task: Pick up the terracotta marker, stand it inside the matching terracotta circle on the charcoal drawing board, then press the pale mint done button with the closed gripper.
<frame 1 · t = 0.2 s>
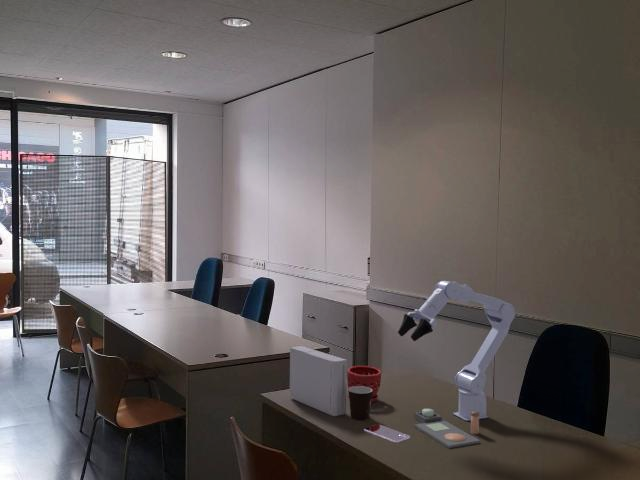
hand: (406, 336, 208), 31 cm above the table, tool tilted 45°, fingers open, 7 cm apart
mobile phone: (386, 435, 204), on the table
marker: (474, 432, 206), on the table
game console: (316, 406, 231), on the table
done button: (427, 413, 217), point 2 cm above the table, slide at 0.0 cm
plant pot: (363, 400, 239), on the table
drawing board: (446, 434, 204), on the table
coffee mug: (361, 416, 220), on the table
button housing: (427, 420, 217), on the table
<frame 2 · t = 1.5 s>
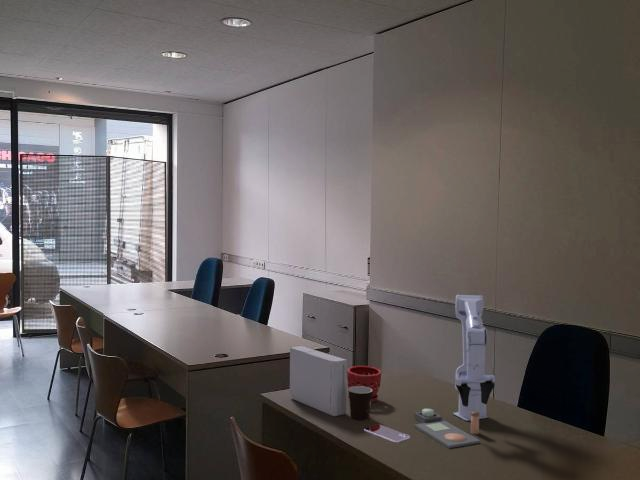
hand: (474, 404, 205), 10 cm above the table, tool pointing down, fingers open, 7 cm apart
nothing on the table moved.
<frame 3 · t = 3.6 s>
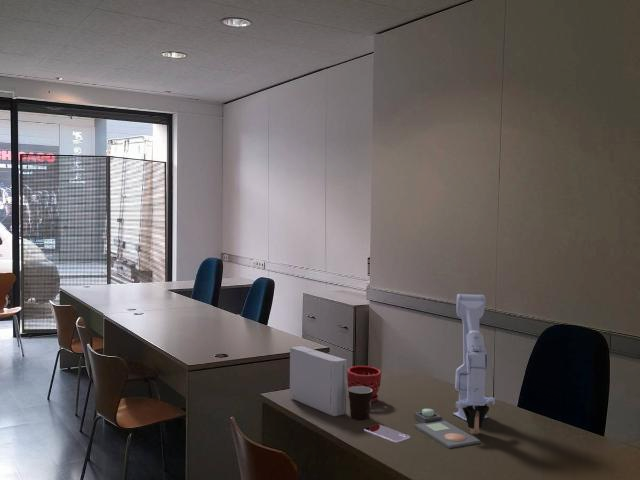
hand: (474, 427, 206), 2 cm above the table, tool pointing down, fingers closed on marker, 3 cm apart
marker: (474, 432, 206), on the table, touching gripper
everything else where it was.
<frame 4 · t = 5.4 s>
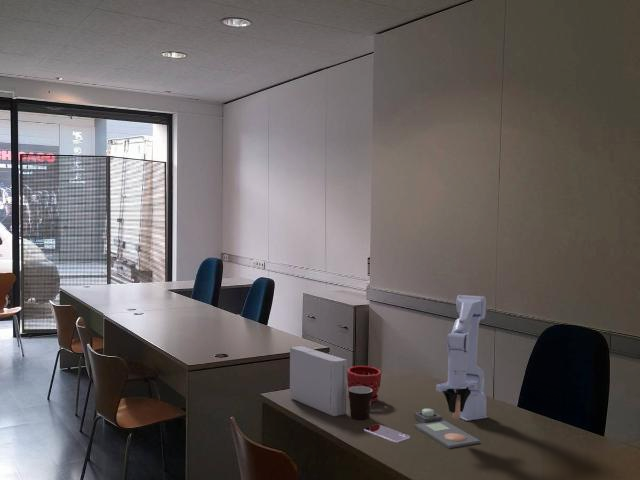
hand: (456, 411, 199), 9 cm above the table, tool pointing down, fingers closed on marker, 3 cm apart
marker: (455, 417, 199), point 8 cm above the table, touching gripper
everything else where it was.
when the fingers open (3 cm above the table, at t = 7.2 s): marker stays where it is, resting on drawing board.
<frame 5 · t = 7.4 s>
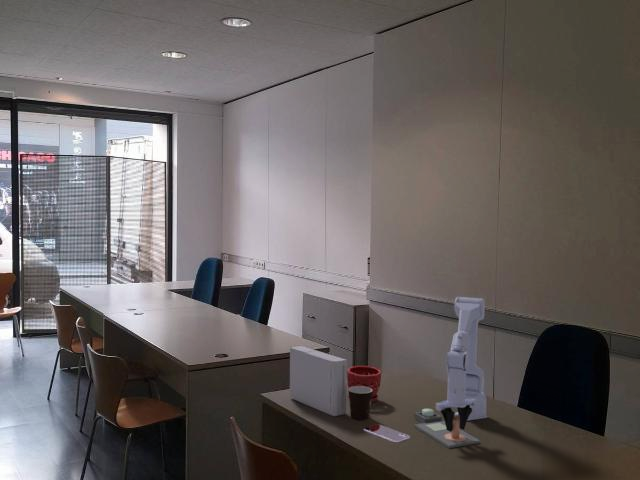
hand: (455, 429, 199), 3 cm above the table, tool pointing down, fingers open, 4 cm apart
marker: (455, 437, 199), point 1 cm above the table, touching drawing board
everything else where it was.
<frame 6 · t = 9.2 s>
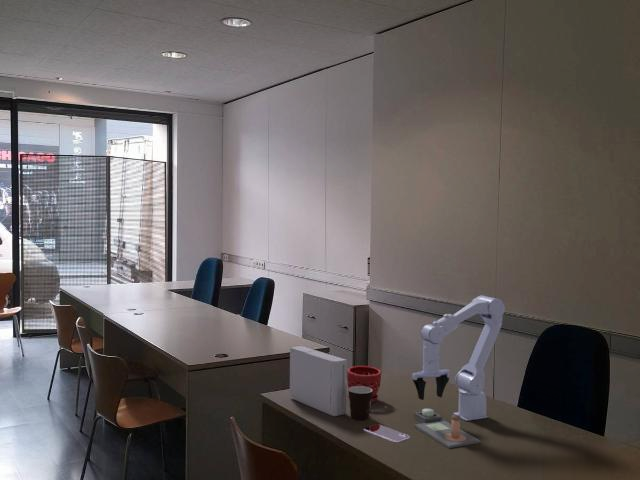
hand: (430, 397, 216), 8 cm above the table, tool pointing down, fingers open, 7 cm apart
nothing on the table moved.
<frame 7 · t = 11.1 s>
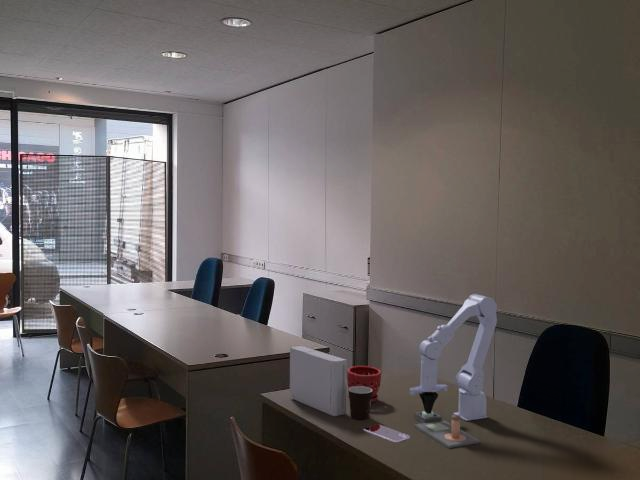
hand: (427, 412, 217), 3 cm above the table, tool pointing down, fingers closed, pressing on done button
done button: (427, 416, 217), point 1 cm above the table, slide at 0.8 cm, touching gripper
everything else where it was.
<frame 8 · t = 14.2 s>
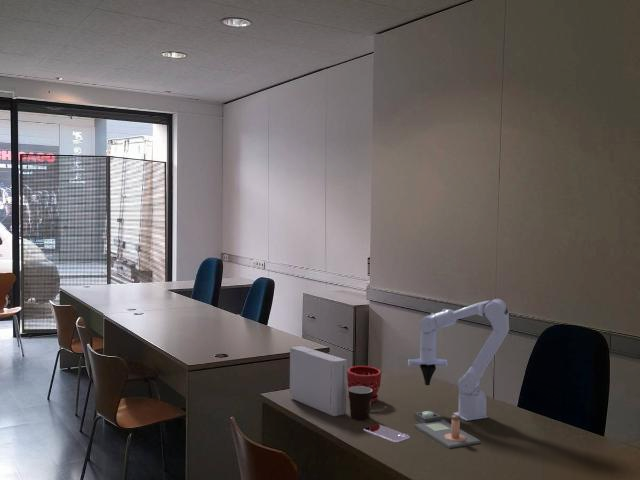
hand: (427, 384, 228), 9 cm above the table, tool pointing down, fingers closed
done button: (427, 416, 217), point 1 cm above the table, slide at 1.0 cm
everything else where it was.
at the end: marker 0.1 cm from the target spot, point 0.9 cm above the table; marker tilted 0°; done button slide at 1.0 cm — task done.
